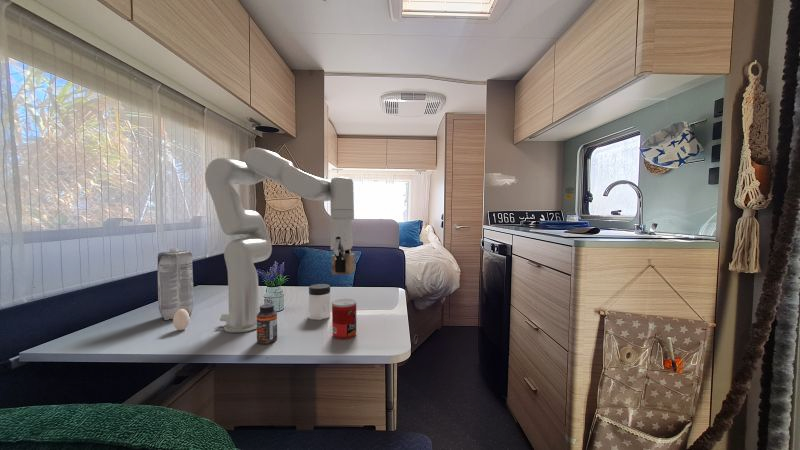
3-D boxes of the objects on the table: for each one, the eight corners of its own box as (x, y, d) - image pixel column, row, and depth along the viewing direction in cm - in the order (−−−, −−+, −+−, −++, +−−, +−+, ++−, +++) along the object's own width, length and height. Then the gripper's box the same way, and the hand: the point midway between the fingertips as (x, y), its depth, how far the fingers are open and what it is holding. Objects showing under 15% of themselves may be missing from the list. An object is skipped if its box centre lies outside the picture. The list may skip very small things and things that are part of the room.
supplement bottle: (252, 343, 93) (251, 307, 92) (265, 336, 98) (265, 302, 98) (268, 345, 91) (268, 308, 91) (281, 338, 97) (280, 303, 97)
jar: (314, 321, 112) (314, 289, 111) (304, 316, 118) (304, 286, 117) (335, 316, 118) (335, 285, 118) (324, 311, 124) (324, 282, 124)
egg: (169, 332, 102) (169, 311, 102) (179, 327, 107) (179, 307, 107) (183, 332, 102) (183, 311, 102) (193, 327, 107) (192, 306, 107)
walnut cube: (331, 274, 96) (331, 255, 96) (337, 271, 102) (337, 253, 102) (350, 274, 95) (349, 255, 95) (355, 271, 101) (354, 253, 101)
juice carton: (195, 315, 120) (193, 248, 119) (161, 322, 112) (159, 250, 111) (189, 311, 126) (188, 246, 125) (157, 317, 118) (155, 249, 117)
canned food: (351, 340, 95) (351, 305, 94) (328, 338, 96) (327, 304, 96) (359, 331, 102) (359, 299, 102) (337, 329, 104) (337, 298, 104)
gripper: (339, 215, 107) (340, 266, 108) (321, 215, 90) (323, 275, 90) (360, 215, 106) (361, 266, 107) (346, 215, 89) (347, 275, 90)
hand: (343, 269), depth 99 cm, fingers closed on walnut cube, 6 cm apart
